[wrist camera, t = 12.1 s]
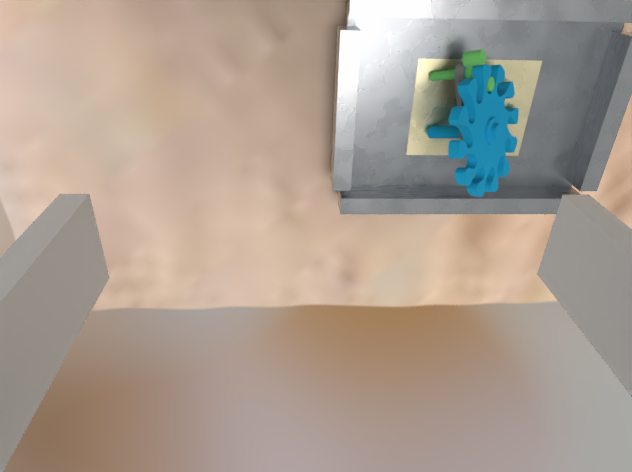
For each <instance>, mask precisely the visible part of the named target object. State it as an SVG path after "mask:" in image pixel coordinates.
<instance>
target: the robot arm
mask: <svg viewBox="0 0 632 472" xmlns="http://www.w3.org/2000/svg"><path fill="white" fill-rule="evenodd" d="M537 274H538V276H539V277H540V278H541V280H542V281H543V282H544V283H545V285H546V286H547V287H548V289H549V290H550V291H551V293H552V294H553V295H554V296H555V298H556V299H557V300H558V302H559V303H560V304H561V306H562V307H563V308H564V309H565V311H566V312H567V313H568V315H569V316H570V317H571V318H572V320H573V321H574V322H575V324H576V325H577V326H578V328H579V329H580V330H581V331H582V333H583V334H584V335H585V337H586V338H587V339H588V341H589V342H590V343H591V344H592V346H593V347H594V348H595V350H596V351H597V352H598V353H599V355H600V356H601V357H602V359H603V360H604V361H605V363H606V364H607V365H608V366H609V368H610V369H611V370H612V372H613V373H614V374H615V375H616V377H617V378H618V379H619V381H620V382H621V383H622V385H623V386H624V387H625V389H626V390H627V391H628V392H629V394H630V395H631V396H632V229H630V228H629V227H628V226H627V225H626V224H624V223H623V222H622V221H621V220H619V219H618V218H617V217H616V216H614V215H613V214H612V213H611V212H609V211H608V210H607V209H606V208H605V207H603V206H602V205H601V204H600V203H598V202H597V201H596V200H595V199H593V198H592V197H591V196H590V195H562V198H561V201H560V204H559V208H558V211H557V214H556V217H555V220H554V223H553V226H552V229H551V233H550V236H549V239H548V242H547V245H546V248H545V251H544V254H543V258H542V261H541V264H540V267H539V270H538V273H537ZM108 279H109V274H108V270H107V266H106V262H105V257H104V253H103V249H102V245H101V241H100V237H99V232H98V228H97V224H96V220H95V216H94V211H93V207H92V203H91V199H90V195H89V194H60V195H59V196H58V197H57V198H56V199H55V200H54V201H53V202H52V203H51V204H50V205H49V206H48V207H47V208H46V209H45V210H44V212H43V213H42V214H41V215H40V216H39V217H38V218H37V219H36V220H35V221H34V222H33V223H32V224H31V225H30V226H29V227H28V229H27V230H26V231H25V232H24V233H23V234H22V235H21V236H20V237H19V238H18V239H17V240H16V241H15V242H14V243H13V245H12V246H11V247H10V248H9V249H8V250H7V251H6V252H5V253H4V254H3V255H2V256H1V257H0V472H3V471H4V469H5V467H6V465H7V463H8V461H9V459H10V458H11V456H12V454H13V452H14V450H15V449H16V447H17V445H18V443H19V441H20V439H21V438H22V436H23V434H24V432H25V430H26V429H27V427H28V425H29V423H30V421H31V419H32V418H33V415H34V414H35V412H36V410H37V409H38V407H39V405H40V403H41V401H42V399H43V397H44V395H45V394H46V392H47V390H48V388H49V387H50V385H51V383H52V381H53V379H54V378H55V376H56V374H57V372H58V370H59V368H60V367H61V365H62V363H63V361H64V359H65V357H66V356H67V354H68V352H69V350H70V348H71V347H72V345H73V343H74V341H75V339H76V337H77V336H78V334H79V332H80V330H81V328H82V326H83V325H84V323H85V321H86V319H87V317H88V316H89V313H90V312H91V310H92V308H93V306H94V305H95V303H96V301H97V299H98V297H99V295H100V294H101V292H102V290H103V288H104V286H105V285H106V283H107V281H108Z"/></svg>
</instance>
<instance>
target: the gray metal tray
mask: <svg viewBox="0 0 632 472" xmlns="http://www.w3.org/2000/svg"><path fill="white" fill-rule="evenodd" d="M624 23H632V0H349V2H346V19H345V26H337V45H336V68H335V90H334V113H333V135H332V158H331V183H332V189H333V191H338V205H339V210H340V214H557V211H558V208H559V204H560V201H561V198H562V195H580V194H579V193H578V192H577V191H576V190H574V189H573V188H572V187H571V186H572V185H573V186H574V187H576V188H577V189H578V190H579V191H597V189H598V186H599V183H600V180H601V178H602V175H603V172H604V169H605V167H606V164H607V161H608V158H609V155H610V153H611V150H612V147H613V144H614V141H615V139H616V136H617V133H618V130H619V127H620V125H621V122H622V119H623V116H624V114H625V111H626V108H627V105H628V102H629V100H630V97H631V94H632V32H622V30H623V27H624ZM475 50H485V52H486V62H485V64H484V65H490V66H491V65H501V66H502V67H503V69H504V71H505V78H504V80H503V81H502V82H510V81H513V85H514V91H515V94H514V97H513V98H509V99H505V103H504V105H505V109H506V108H518V109H519V115H518V123H517V124H507V127H508V130H509V132H510V134H511V135H512V136H513V137H516V138H517V145H516V149H515V151H514V153H506V158H507V161H508V163H509V165H510V171H509V173H508V174H507V176H506V177H497V178H498V190H497V191H496V192H485V191H484V194H483V196H482V197H477V196H471V195H470V194H469V193H468V191H467V186H466V185H458V184H457V182H456V178H455V171H456V169H457V168H458V167H464V168H465V167H466V164H467V157H466V156H465V157H464V158H463V159H450V158H449V157H448V148H449V142H450V141H451V140H461V139H460V138H429V137H428V134H427V131H428V128H429V127H430V126H452V125H450V123H449V121H448V119H449V115H450V112H451V110H452V108H453V107H456V106H457V102H456V91H455V79H453V80H442V81H431V80H430V74H431V72H435V71H444V70H453V69H455V66H456V65H457V63H459V62H463V60H462V58H463V54H464V53H465V52H468V51H475ZM477 66H478V65H477ZM500 83H501V82H500ZM500 83H499V84H498V87H499V85H500ZM498 87H497V90H498ZM474 176H475V175H474ZM473 178H474V177H473Z"/></svg>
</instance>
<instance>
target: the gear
mask: <svg viewBox="0 0 632 472" xmlns="http://www.w3.org/2000/svg"><path fill="white" fill-rule="evenodd" d="M462 60H463V62H459V63H457V65H456V66H455V69H453V70H444V71H435V72H431V74H430V80H431V81H442V80H453V79H455V91H456V102H457V106H456V107H453V108H452V110H451V112H450V115H449V119H448V121H449V123H450V125H452V126H430V127H429V128H428V131H427V134H428V137H429V138H460V139H461V140H451V141H450V142H449V148H448V157H449V158H450V159H463V158H464V157H465V156H466V157H467V164H466V167H465V168H464V167H458V168H457V169H456V171H455V178H456V182H457V184H458V185H466V186H467V191H468V193H469V194H470V195H471V196H477V197H482V196H483V194H484V191H485V192H496V191H497V190H498V178H497V177H506V176H507V174H508V173H509V171H510V165H509V163H508V161H507V158H506V153H514V151H515V149H516V145H517V138H516V137H513V136H512V135H511V134H510V132H509V130H508V127H507V124H517V123H518V115H519V109H518V108H506V109H505V105H504V103H505V99H509V98H513V97H514V94H515V91H514V85H513V81H510V82H502V81H503V80H504V78H505V71H504V69H503V67H502V66H501V65H491V66H490V65H484V64H485V62H486V52H485V50H475V51H468V52H465V53H464V54H463V58H462ZM477 65H478V66H477ZM500 82H501V83H500ZM499 83H500V85H499V87H498V84H499ZM497 87H498V90H497ZM474 175H475V176H474ZM473 177H474V178H473Z"/></svg>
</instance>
